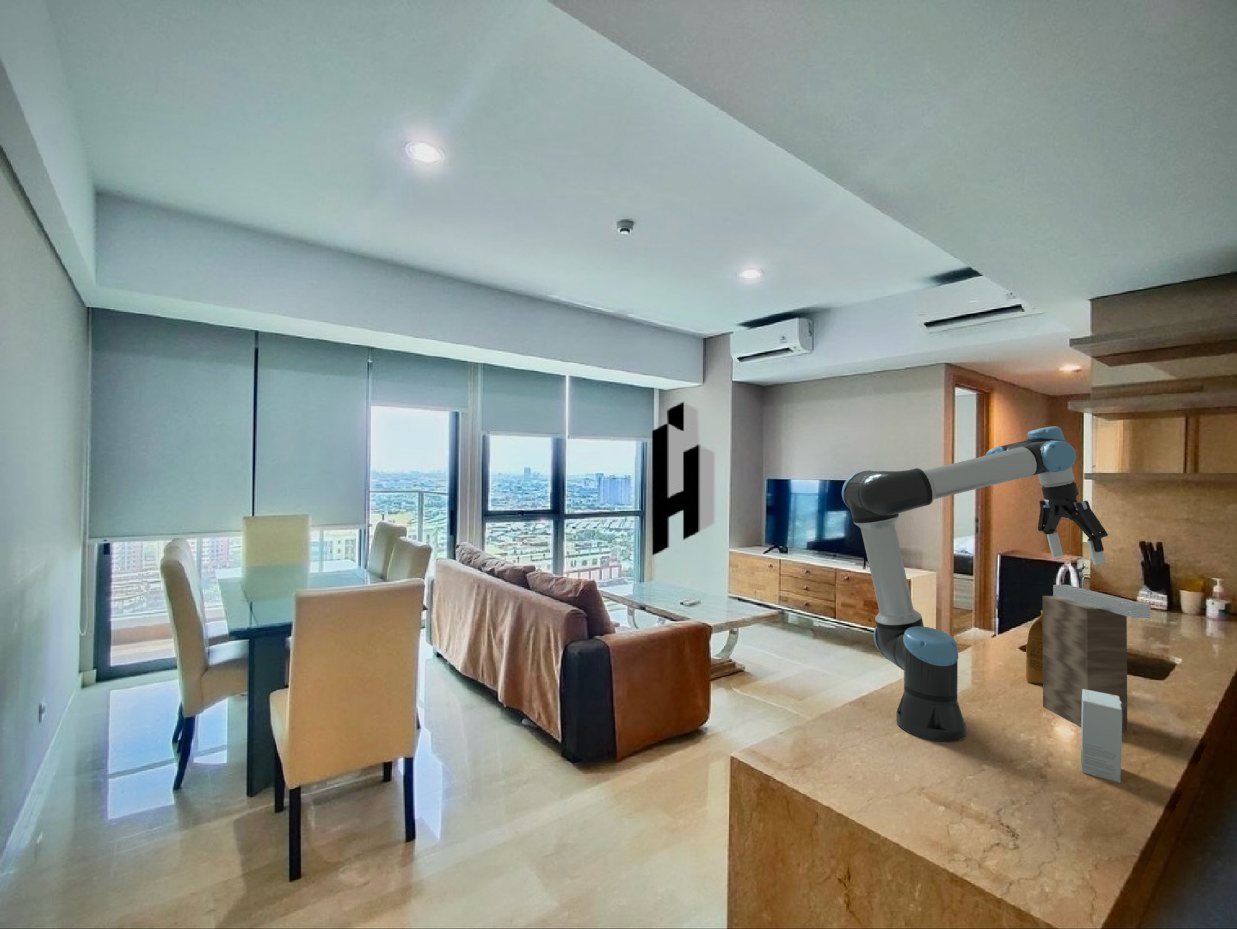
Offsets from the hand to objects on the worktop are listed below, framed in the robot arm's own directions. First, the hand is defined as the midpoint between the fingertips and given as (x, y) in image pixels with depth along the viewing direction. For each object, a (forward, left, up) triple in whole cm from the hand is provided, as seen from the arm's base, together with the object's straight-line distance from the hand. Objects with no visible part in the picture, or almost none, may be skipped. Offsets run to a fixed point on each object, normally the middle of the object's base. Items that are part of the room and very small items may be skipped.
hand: (1077, 559), depth 151 cm
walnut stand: (-6, -4, -40) cm, 41 cm away
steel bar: (-8, -8, -10) cm, 15 cm away
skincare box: (-33, -19, -40) cm, 55 cm away
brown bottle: (+14, +14, -40) cm, 45 cm away
